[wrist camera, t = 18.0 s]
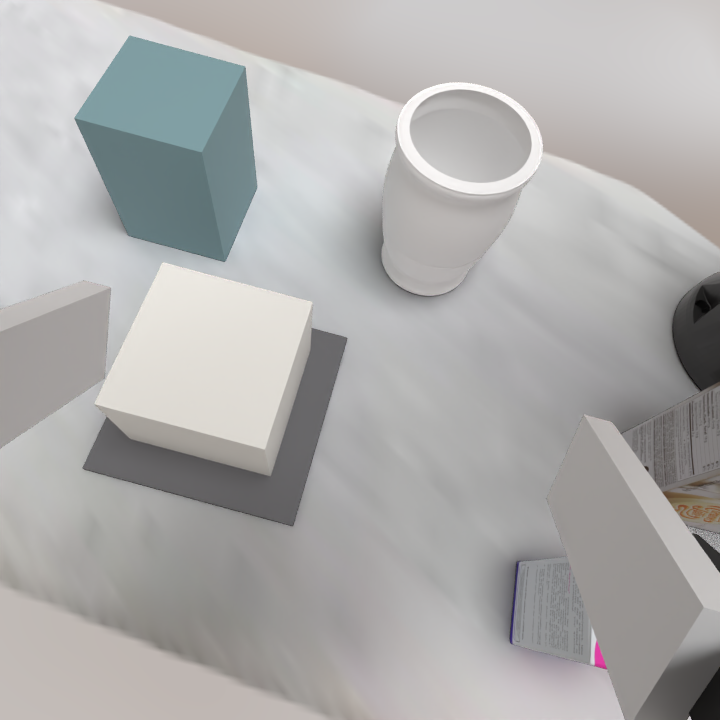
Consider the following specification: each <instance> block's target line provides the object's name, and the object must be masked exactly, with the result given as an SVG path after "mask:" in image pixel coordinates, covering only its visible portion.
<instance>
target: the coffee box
mask: <svg viewBox="0 0 720 720" xmlns="http://www.w3.org/2000/svg"><path fill="white" fill-rule="evenodd" d="M621 435H622V437H623V438H624V439H625V441H626V442H627V444H628V445H629V446H630V448H631V449H632V451H633V452H634V453H635V455H636V456H637V458H638V459H639V460H640V462H641V463H642V465H643V466H644V467H645V469H646V470H647V472H648V473H649V474H650V476H651V477H652V479H653V480H654V481H655V483H656V484H657V486H658V487H659V489H660V490H661V491H662V493H663V494H664V496H665V497H666V498H667V500H668V501H669V503H670V504H671V505H672V507H673V508H674V510H675V511H676V512H677V514H678V515H679V517H680V518H681V519H682V521H683V522H684V524H685V525H688V526H692V527H696V528H700V529H704V530H708V531H712V532H716V533H720V382H718V383H716V384H714V385H712V386H711V387H709V388H707V389H705V390H703V391H701V392H699V393H697V394H696V395H694V396H692V397H690V398H688V399H686V400H684V401H682V402H680V403H679V404H677V405H675V406H673V407H671V408H669V409H667V410H666V411H664V412H662V413H660V414H658V415H656V416H654V417H652V418H651V419H649V420H647V421H645V422H643V423H641V424H639V425H637V426H635V427H633V428H632V429H630V430H628V431H626V432H624V433H622V434H621Z"/></svg>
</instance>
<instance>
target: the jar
mask: <svg viewBox="0 0 720 720" xmlns="http://www.w3.org/2000/svg"><path fill="white" fill-rule="evenodd" d="M395 140H396V148H395V150H394V152H393V155H392V157H391V160H390V163H389V166H388V169H387V173H386V177H385V181H384V187H383V197H382V214H383V237H384V243H383V246H382V252H381V256H382V263H383V266H384V268H385V270H386V272H387V274H388V275H389V277H390V278H391V279H392V280H393V281H394V282H395V283H396V284H397V285H399V286H400V287H401V288H403V289H405V290H407V291H409V292H411V293H415V294H418V295H425V296H434V295H440V294H444V293H447V292H449V291H451V290H453V289H454V288H456V287H457V286H458V285H459V284H460V283H461V282H462V281H463V280H464V278H465V277H466V275H467V272H468V270H469V269H470V268H471V267H472V266H473V265H475V264H476V263H477V262H478V260H479V259H480V258H481V257H482V256H483V255H484V253H485V252H486V251H487V250H488V249H489V248H490V247H491V246H492V244H493V243H494V242H495V241H496V240H497V239H498V237H499V236H500V235H501V233H502V232H503V230H504V229H505V227H506V225H507V224H508V222H509V220H510V218H511V216H512V214H513V212H514V210H515V207H516V205H517V202H518V200H519V197H520V194H521V191H522V188H523V187H524V186H525V185H526V184H527V183H528V182H529V181H530V180H531V178H532V177H533V175H534V174H535V172H536V170H537V168H538V166H539V164H540V162H541V159H542V154H543V142H542V137H541V134H540V131H539V128H538V126H537V125H536V123H535V121H534V120H533V118H532V117H531V116H530V114H529V113H528V112H527V111H526V110H525V109H524V108H523V107H522V106H521V105H520V104H518V103H517V102H516V101H514V100H513V99H511V98H510V97H508V96H507V95H504V94H503V93H501V92H499V91H496V90H494V89H491V88H488V87H485V86H481V85H477V84H471V83H445V84H440V85H436V86H433V87H430V88H427V89H425V90H423V91H421V92H419V93H418V94H416V95H415V96H413V97H412V98H411V99H410V100H409V101H408V102H407V103H406V105H405V106H404V108H403V109H402V111H401V113H400V116H399V119H398V122H397V126H396V133H395Z"/></svg>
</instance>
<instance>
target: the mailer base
mask: <svg viewBox="0 0 720 720" xmlns="http://www.w3.org/2000/svg"><path fill="white" fill-rule="evenodd" d="M74 119H75V121H76V123H77V125H78V127H79V129H80V132H81V134H82V136H83V138H84V140H85V142H86V145H87V147H88V149H89V151H90V153H91V155H92V157H93V160H94V162H95V164H96V166H97V168H98V170H99V173H100V175H101V177H102V179H103V181H104V183H105V186H106V188H107V190H108V192H109V194H110V196H111V198H112V201H113V203H114V205H115V207H116V209H117V211H118V214H119V216H120V218H121V220H122V222H123V224H124V227H125V229H126V231H127V233H128V235H129V236H132V237H135V238H139V239H143V240H147V241H150V242H154V243H158V244H161V245H165V246H169V247H172V248H176V249H180V250H184V251H187V252H191V253H195V254H198V255H202V256H206V257H209V258H213V259H217V260H221V261H224V262H225V261H226V259H227V256H228V254H229V252H230V249H231V247H232V245H233V242H234V240H235V238H236V235H237V233H238V231H239V229H240V226H241V224H242V222H243V219H244V217H245V215H246V212H247V210H248V208H249V205H250V203H251V201H252V198H253V196H254V194H255V191H256V189H257V181H256V170H255V160H254V150H253V140H252V130H251V119H250V109H249V99H248V89H247V79H246V68H245V66H241V65H237V64H234V63H230V62H226V61H222V60H219V59H215V58H211V57H208V56H204V55H200V54H196V53H193V52H189V51H185V50H181V49H178V48H174V47H170V46H167V45H163V44H159V43H155V42H152V41H148V40H144V39H140V38H137V37H133V36H129V37H128V39H127V40H126V42H125V43H124V45H123V46H122V48H121V49H120V51H119V52H118V54H117V55H116V57H115V58H114V60H113V61H112V63H111V64H110V66H109V67H108V69H107V70H106V72H105V73H104V75H103V76H102V78H101V79H100V81H99V82H98V84H97V85H96V87H95V88H94V90H93V91H92V92H91V94H90V95H89V97H88V98H87V100H86V101H85V103H84V104H83V106H82V107H81V109H80V110H79V112H78V113H77V115H76V116H75V118H74Z"/></svg>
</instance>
